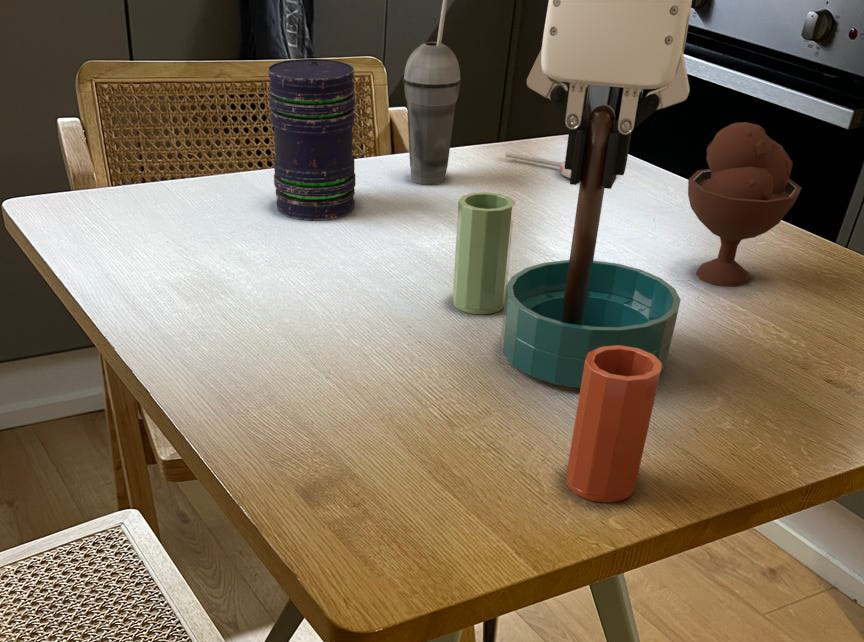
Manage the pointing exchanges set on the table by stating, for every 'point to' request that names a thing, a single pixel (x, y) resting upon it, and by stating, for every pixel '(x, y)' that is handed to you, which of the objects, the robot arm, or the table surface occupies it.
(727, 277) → the ice cream bowl
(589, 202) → the stirring stick
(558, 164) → the lollipop
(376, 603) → the table surface
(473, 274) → the rinse cup
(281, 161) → the storage jar
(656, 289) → the mixing bowl
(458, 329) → the table surface
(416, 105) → the beverage cup
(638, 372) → the utensil cup
